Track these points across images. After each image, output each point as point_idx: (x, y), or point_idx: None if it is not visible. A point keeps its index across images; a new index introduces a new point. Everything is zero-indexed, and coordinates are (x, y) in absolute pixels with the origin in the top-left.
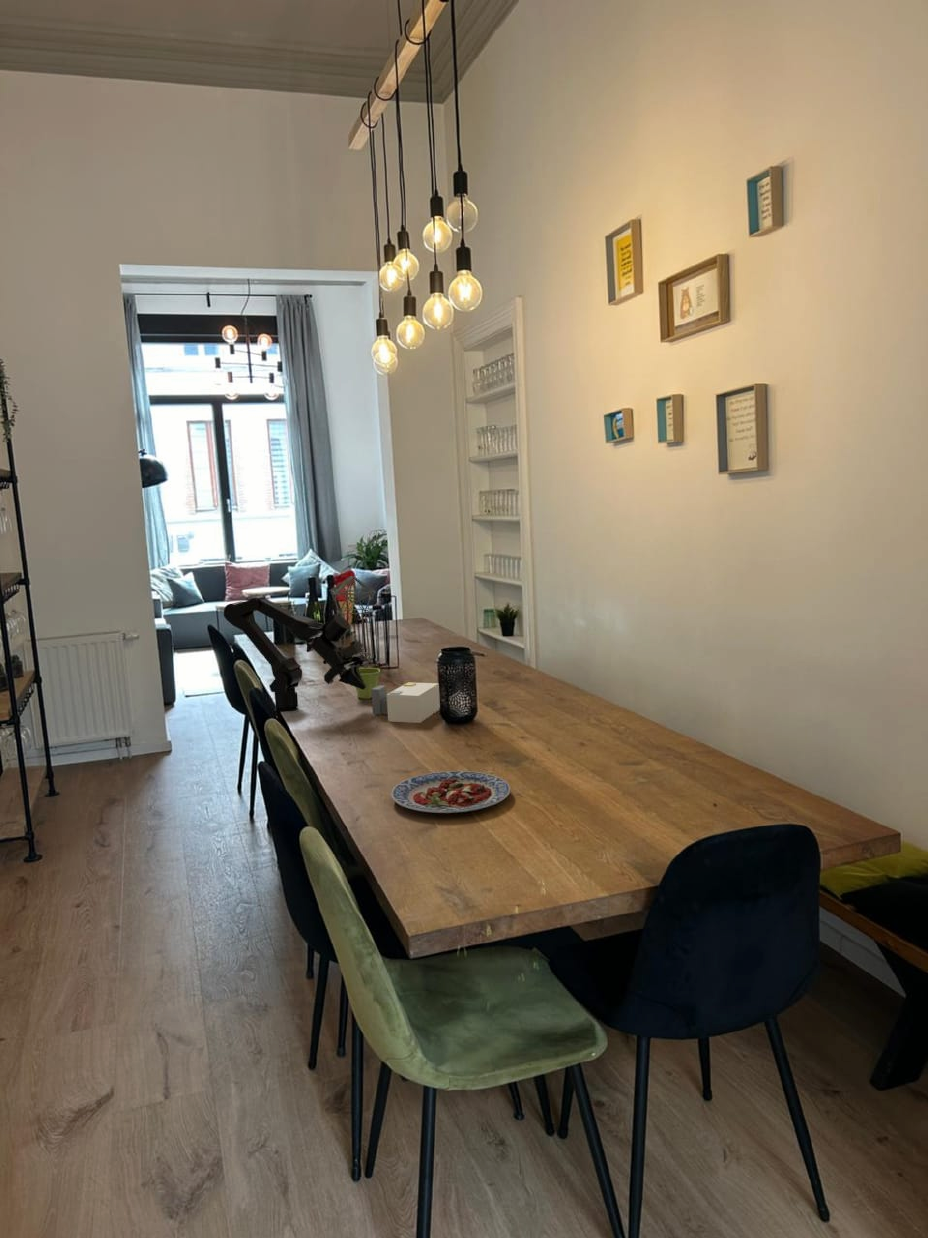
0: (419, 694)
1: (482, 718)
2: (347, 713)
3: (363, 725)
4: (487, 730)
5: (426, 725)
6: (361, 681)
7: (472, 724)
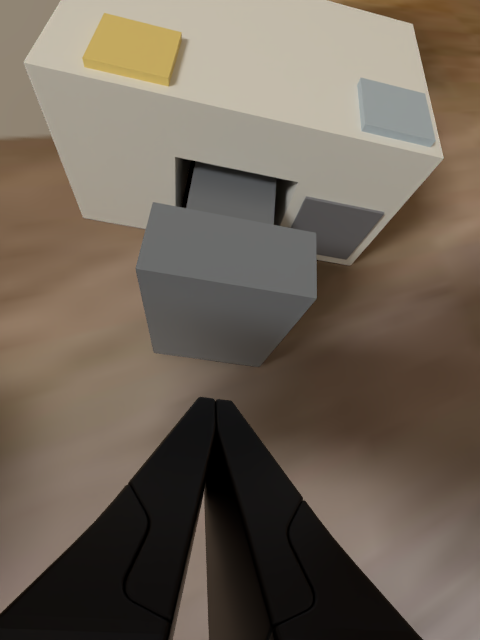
0: (385, 20)
1: None
2: None
3: (441, 359)
4: None
5: None
6: (226, 445)
7: None
